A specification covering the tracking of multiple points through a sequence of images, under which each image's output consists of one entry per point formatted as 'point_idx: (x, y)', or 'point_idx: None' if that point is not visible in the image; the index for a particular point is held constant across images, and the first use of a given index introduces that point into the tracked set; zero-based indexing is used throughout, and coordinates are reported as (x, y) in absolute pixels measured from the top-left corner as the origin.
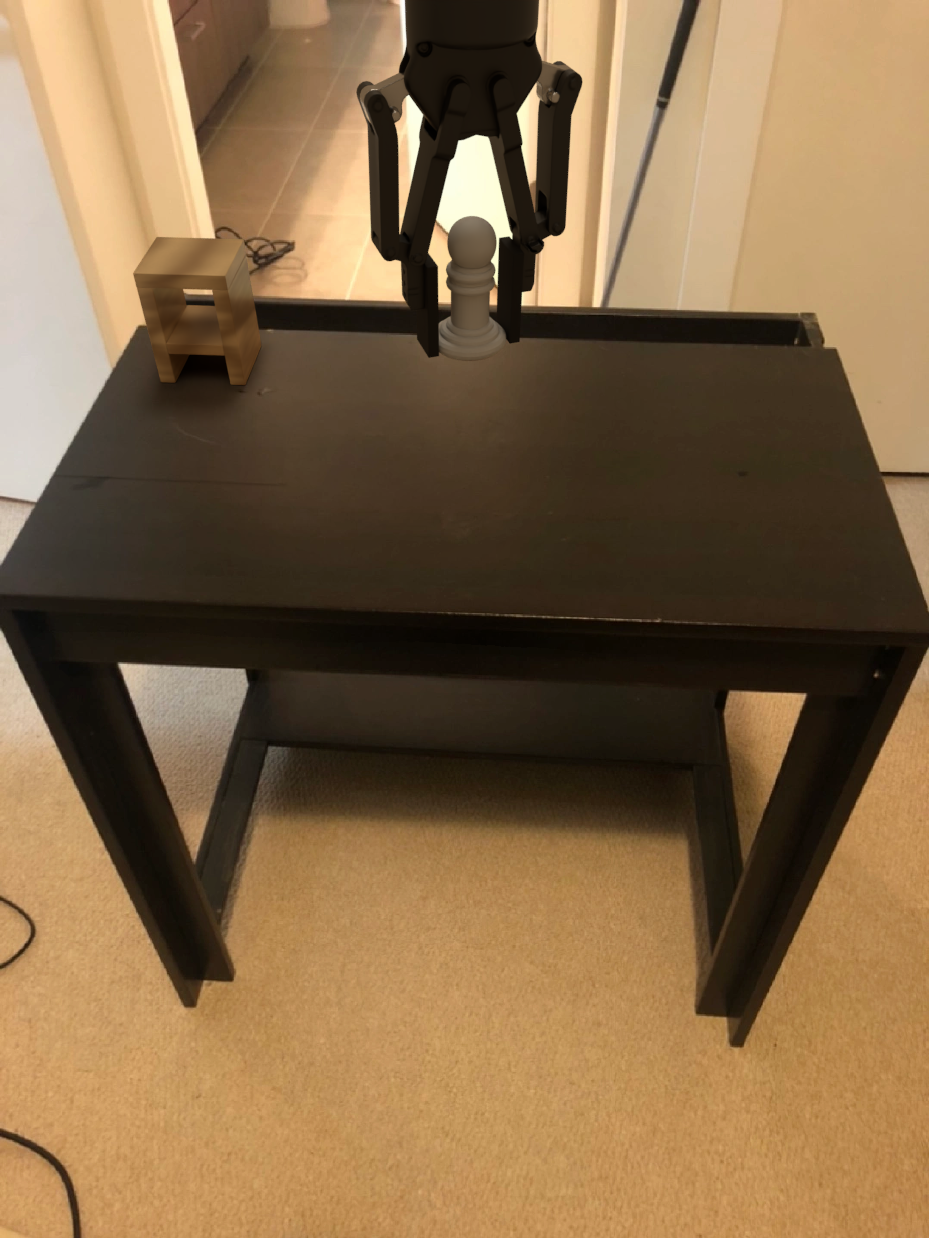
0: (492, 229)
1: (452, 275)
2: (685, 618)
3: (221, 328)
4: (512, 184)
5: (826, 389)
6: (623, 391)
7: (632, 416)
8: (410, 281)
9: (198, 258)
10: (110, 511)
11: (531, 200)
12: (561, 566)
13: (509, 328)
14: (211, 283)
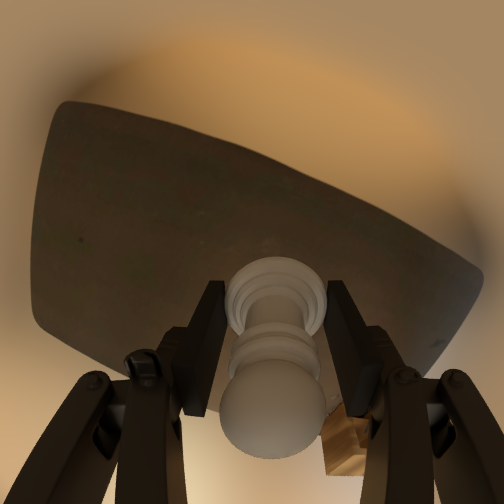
0: (229, 422)
1: (318, 361)
2: (157, 120)
3: (354, 429)
4: (160, 498)
5: (34, 291)
6: (124, 336)
7: (124, 314)
8: (395, 354)
9: (357, 465)
10: (440, 321)
11: (121, 446)
12: (213, 187)
13: (220, 293)
14: (360, 451)
